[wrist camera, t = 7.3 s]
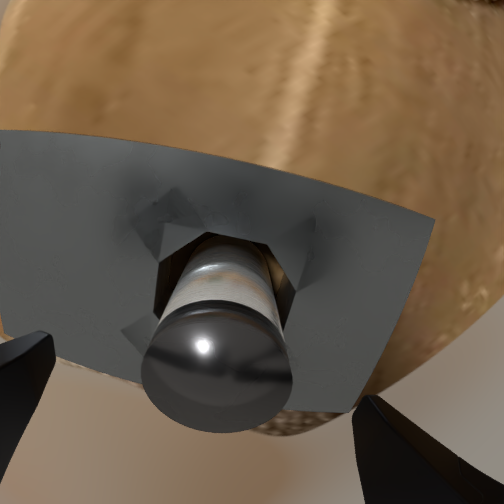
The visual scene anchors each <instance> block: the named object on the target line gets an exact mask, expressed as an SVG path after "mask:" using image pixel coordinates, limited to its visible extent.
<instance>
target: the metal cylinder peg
mask: <svg viewBox="0 0 504 504" xmlns="http://www.w3.org/2000/svg"><path fill="white" fill-rule="evenodd" d="M141 380H142V384H143V387H144V390H145V392H146V394H147V395H148V397H149V399H150V400H151V401H152V403H153V404H154V405H155V406H156V407H157V408H158V409H159V410H160V411H161V412H162V413H164V414H165V415H166V416H168V417H169V418H171V419H172V420H174V421H176V422H178V423H180V424H182V425H184V426H187V427H189V428H193V429H196V430H200V431H205V432H212V433H232V432H239V431H244V430H248V429H251V428H254V427H257V426H259V425H261V424H263V423H265V422H267V421H269V420H270V419H272V418H273V417H274V416H275V415H277V414H278V413H279V412H280V411H281V410H282V408H283V407H284V406H285V404H286V403H287V401H288V399H289V397H290V394H291V391H292V385H293V377H292V372H291V367H290V363H289V359H288V354H287V350H286V345H285V341H284V336H283V332H282V328H281V323H280V319H279V314H278V310H277V306H276V301H275V297H274V293H273V288H272V284H271V280H270V276H269V271H268V267H267V263H266V260H265V258H264V256H263V254H262V253H261V251H260V250H259V249H258V248H257V247H256V246H255V245H254V244H252V243H251V242H250V241H248V240H245V239H240V238H236V237H231V236H226V235H220V236H215V237H212V238H210V239H208V240H206V241H204V242H203V243H201V244H200V245H199V246H198V247H197V248H196V249H195V250H194V252H193V253H192V255H191V256H190V258H189V260H188V263H187V265H186V267H185V269H184V271H183V273H182V275H181V277H180V279H179V281H178V283H177V285H176V287H175V289H174V291H173V294H172V296H171V298H170V300H169V302H168V304H167V306H166V308H165V311H164V313H163V315H162V317H161V319H160V321H159V324H158V326H157V328H156V330H155V332H154V335H153V337H152V339H151V341H150V344H149V346H148V348H147V350H146V353H145V355H144V358H143V361H142V364H141Z"/></svg>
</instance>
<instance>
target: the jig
mask: <svg viewBox="0 0 504 504" xmlns="http://www.w3.org/2000/svg"><path fill="white" fill-rule="evenodd" d="M434 223H435V219H433V218H430V217H428V216H425V215H423V214H420V213H418V212H415V211H412V210H410V209H407V208H404V207H402V206H399V205H396V204H393V203H390V202H387V201H384V200H381V199H378V198H375V197H372V196H369V195H366V194H363V193H359V192H356V191H353V190H350V189H346V188H343V187H340V186H336V185H333V184H330V183H326V182H323V181H319V180H316V179H312V178H308V177H305V176H301V175H297V174H293V173H290V172H286V171H282V170H278V169H274V168H270V167H266V166H262V165H257V164H253V163H249V162H244V161H240V160H235V159H231V158H226V157H222V156H217V155H212V154H207V153H202V152H197V151H191V150H186V149H180V148H175V147H169V146H163V145H157V144H151V143H144V142H138V141H131V140H124V139H116V138H108V137H100V136H91V135H81V134H71V133H60V132H46V131H28V130H0V313H1V319H2V324H3V329H4V333H5V334H7V335H9V336H11V337H13V338H15V339H16V338H19V337H22V336H24V335H27V334H30V333H33V332H36V331H39V330H41V331H44V332H47V333H49V334H51V335H52V336H53V340H54V347H55V354H56V356H57V357H60V358H63V359H65V360H68V361H71V362H73V363H76V364H79V365H82V366H84V367H87V368H90V369H93V370H96V371H99V372H102V373H106V374H109V375H112V376H115V377H119V378H122V379H125V380H129V381H132V382H136V383H140V384H142V380H141V364H142V361H143V358H144V355H145V353H146V350H147V348H148V346H149V344H150V341H151V339H152V337H153V335H154V332H155V330H156V328H157V326H158V324H159V321H160V319H161V317H162V315H163V313H164V311H165V308H166V306H167V304H168V302H169V300H170V298H171V296H172V294H173V290H172V289H171V287H170V286H169V285H168V281H169V274H170V267H171V261H172V254H173V253H174V252H175V251H177V250H179V249H180V248H182V247H183V246H185V245H186V244H188V243H189V242H191V241H192V240H194V239H196V238H197V237H199V236H200V235H202V234H203V233H205V232H207V231H208V232H213V233H217V234H222V235H226V236H231V237H236V238H240V239H245V240H249V241H254V242H258V243H263V244H267V245H268V247H269V248H270V250H271V251H272V253H273V255H274V256H275V258H276V259H277V261H278V263H279V264H280V266H281V267H282V269H283V271H284V274H283V278H282V281H281V284H280V288H279V291H278V295H277V298H276V306H277V310H278V314H279V319H280V323H281V328H282V332H283V336H284V341H285V345H286V350H287V354H288V359H289V363H290V367H291V372H292V377H293V385H292V391H291V394H290V397H289V399H288V401H287V403H286V404H285V406H284V407H283V408H282V409H285V410H297V411H312V412H335V413H349V412H350V410H351V409H352V407H353V405H354V404H355V402H356V400H357V399H358V397H359V395H360V393H361V392H362V390H363V388H364V386H365V385H366V383H367V381H368V379H369V377H370V376H371V374H372V372H373V370H374V368H375V366H376V364H377V362H378V361H379V359H380V357H381V355H382V353H383V351H384V349H385V347H386V345H387V343H388V341H389V338H390V336H391V334H392V332H393V330H394V328H395V326H396V323H397V321H398V319H399V317H400V315H401V312H402V310H403V308H404V305H405V303H406V301H407V298H408V296H409V293H410V291H411V288H412V286H413V283H414V281H415V278H416V275H417V273H418V270H419V267H420V265H421V262H422V259H423V256H424V254H425V251H426V248H427V245H428V242H429V239H430V236H431V232H432V229H433V226H434Z"/></svg>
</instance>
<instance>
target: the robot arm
mask: <svg viewBox="0 0 504 504" xmlns="http://www.w3.org/2000/svg"><path fill="white" fill-rule="evenodd" d="M55 362H56V354H55V347H54V340H53V336H52V335H51V334H49V333H47V332H44V331H41V330H39V331H36V332H33V333H30V334H27V335H24V336H22V337H19V338H16V339H13V340H10V341H7V342H5V343H2V344H0V483H1V480H2V478H3V476H4V474H5V471H6V469H7V467H8V464H9V462H10V460H11V458H12V456H13V453H14V451H15V449H16V447H17V445H18V443H19V441H20V439H21V437H22V435H23V433H24V430H25V429H26V427H27V424H28V423H29V421H30V419H31V417H32V415H33V413H34V411H35V409H36V407H37V405H38V403H39V401H40V399H41V396H42V394H43V391H44V389H45V386H46V384H47V381H48V379H49V377H50V375H51V372H52V370H53V368H54V365H55ZM352 426H353V434H354V444H355V454H356V462H357V467H358V471H359V476H360V481H361V485H362V490H363V495H364V500H365V504H504V485H503V484H502V483H500V482H498V481H496V480H494V479H493V478H491V477H489V476H488V475H486V474H484V473H483V472H481V471H479V470H478V469H476V468H474V467H473V466H472V465H470V464H469V463H467V462H466V461H464V460H463V459H462V458H460V457H458V456H457V455H456V454H455V453H453V452H452V451H451V450H449V449H448V448H446V447H445V446H444V445H443V444H441V443H440V442H438V441H437V440H436V439H434V438H433V437H431V436H430V435H429V434H428V433H426V432H425V431H423V430H422V429H421V428H420V427H418V426H417V425H416V424H414V423H413V422H412V421H410V420H409V419H408V418H407V417H405V416H404V415H402V414H401V413H400V412H399V411H397V410H396V409H395V408H393V407H392V406H391V405H390V404H388V403H387V402H386V401H385V400H383V399H382V398H381V397H379V396H378V395H365V396H364V397H363V398H362V400H361V401H360V403H359V405H358V406H357V408H356V410H355V411H354V413H353V415H352Z"/></svg>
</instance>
